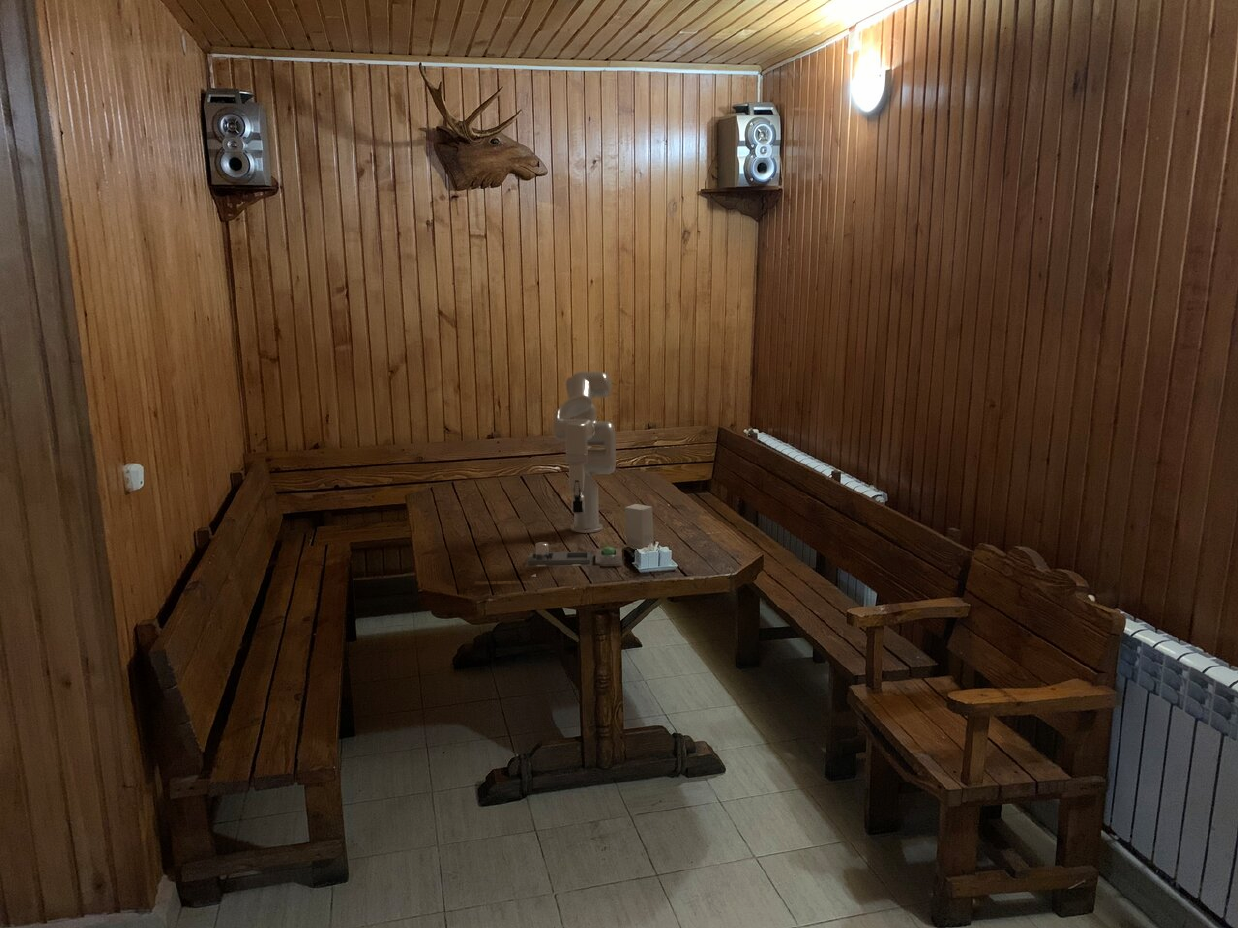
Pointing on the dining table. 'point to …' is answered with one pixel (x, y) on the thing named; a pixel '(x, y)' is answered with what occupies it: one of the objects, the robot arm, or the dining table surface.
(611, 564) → the button housing
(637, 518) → the skincare box
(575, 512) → the billet
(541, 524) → the dining table surface
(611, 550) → the button
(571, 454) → the robot arm
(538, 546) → the billet
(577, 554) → the pallet
